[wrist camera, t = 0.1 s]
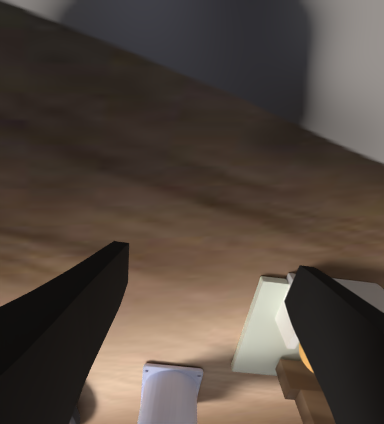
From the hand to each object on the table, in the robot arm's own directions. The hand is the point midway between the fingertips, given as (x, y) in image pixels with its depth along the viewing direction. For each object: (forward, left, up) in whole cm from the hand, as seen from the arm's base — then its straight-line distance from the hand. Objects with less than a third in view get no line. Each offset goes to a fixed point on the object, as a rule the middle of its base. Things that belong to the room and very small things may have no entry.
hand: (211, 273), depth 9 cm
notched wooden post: (-20, -15, -9) cm, 26 cm away
